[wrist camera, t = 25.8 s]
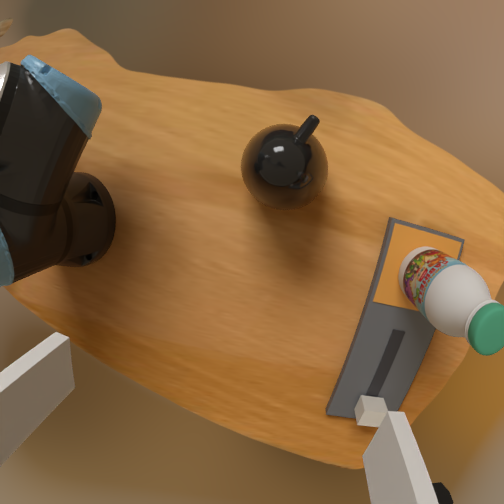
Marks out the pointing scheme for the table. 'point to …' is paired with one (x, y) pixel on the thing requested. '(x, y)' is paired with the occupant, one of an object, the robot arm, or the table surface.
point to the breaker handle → (370, 411)
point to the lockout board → (389, 326)
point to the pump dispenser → (285, 165)
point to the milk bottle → (453, 298)
